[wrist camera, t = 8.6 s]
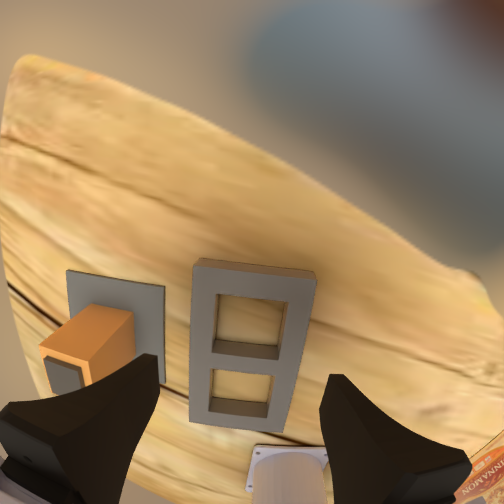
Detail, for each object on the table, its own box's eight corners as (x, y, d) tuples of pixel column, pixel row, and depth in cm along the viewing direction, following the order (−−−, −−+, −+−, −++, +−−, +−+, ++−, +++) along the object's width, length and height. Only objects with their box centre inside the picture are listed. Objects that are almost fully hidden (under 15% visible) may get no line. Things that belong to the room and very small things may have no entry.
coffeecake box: (511, 422, 25) (568, 499, 6) (513, 437, 26) (561, 507, 7) (432, 483, 28) (470, 574, 9) (441, 492, 29) (475, 572, 10)
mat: (165, 381, 24) (164, 384, 23) (78, 359, 24) (77, 361, 24) (164, 286, 22) (163, 287, 21) (67, 269, 22) (65, 270, 22)
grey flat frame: (281, 417, 24) (282, 432, 22) (193, 407, 24) (189, 421, 22) (312, 271, 21) (317, 280, 19) (199, 257, 21) (193, 265, 19)
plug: (136, 354, 23) (95, 414, 15) (95, 344, 23) (48, 396, 15) (133, 312, 22) (84, 365, 14) (91, 303, 22) (34, 348, 14)
